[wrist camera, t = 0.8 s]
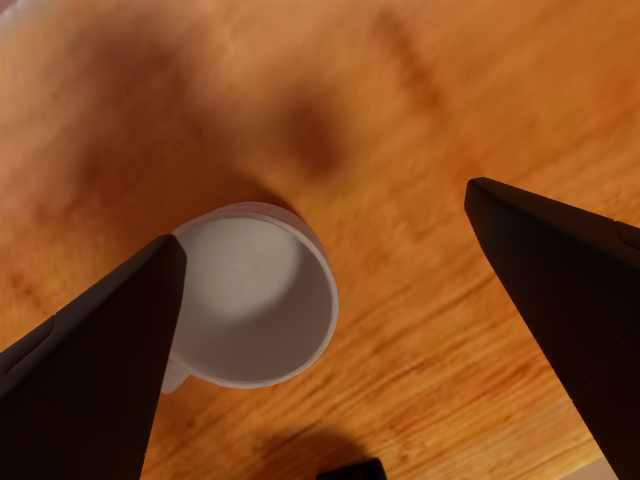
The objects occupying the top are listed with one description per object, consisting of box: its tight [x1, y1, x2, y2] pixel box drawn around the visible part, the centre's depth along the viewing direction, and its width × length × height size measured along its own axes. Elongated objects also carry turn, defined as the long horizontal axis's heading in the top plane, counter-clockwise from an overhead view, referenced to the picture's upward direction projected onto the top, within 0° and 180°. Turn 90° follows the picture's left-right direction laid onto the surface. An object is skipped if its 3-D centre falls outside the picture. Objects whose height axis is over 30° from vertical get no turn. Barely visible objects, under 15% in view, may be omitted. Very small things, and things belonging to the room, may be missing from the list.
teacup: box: [161, 202, 339, 394], centre depth 21 cm, size 14×11×8 cm
